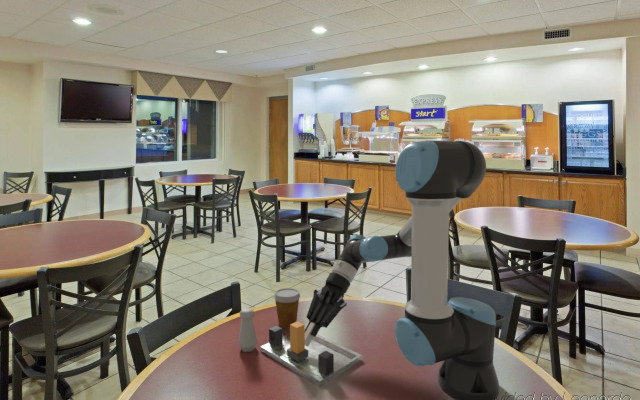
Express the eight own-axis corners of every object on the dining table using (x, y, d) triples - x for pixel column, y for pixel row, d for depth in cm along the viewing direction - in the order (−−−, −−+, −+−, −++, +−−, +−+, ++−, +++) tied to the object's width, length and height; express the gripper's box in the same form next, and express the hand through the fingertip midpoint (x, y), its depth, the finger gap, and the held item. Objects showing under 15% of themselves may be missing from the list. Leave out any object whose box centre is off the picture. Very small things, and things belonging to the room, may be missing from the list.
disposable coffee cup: (302, 318, 142) (302, 288, 141) (298, 330, 133) (298, 298, 131) (277, 317, 143) (276, 287, 142) (271, 329, 134) (270, 297, 132)
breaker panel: (361, 359, 114) (362, 339, 114) (319, 386, 102) (319, 363, 101) (302, 331, 132) (302, 313, 132) (260, 350, 120) (260, 331, 119)
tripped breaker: (308, 356, 113) (308, 325, 112) (298, 362, 110) (298, 329, 109) (296, 350, 116) (296, 319, 115) (287, 355, 113) (286, 324, 112)
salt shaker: (249, 342, 125) (248, 304, 123) (261, 348, 122) (260, 309, 120) (234, 349, 121) (233, 310, 119) (246, 355, 117) (245, 315, 115)
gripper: (320, 267, 127) (283, 331, 117) (351, 276, 118) (312, 347, 108) (331, 278, 131) (296, 341, 122) (361, 288, 122) (325, 357, 113)
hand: (304, 344), depth 115 cm, fingers closed
